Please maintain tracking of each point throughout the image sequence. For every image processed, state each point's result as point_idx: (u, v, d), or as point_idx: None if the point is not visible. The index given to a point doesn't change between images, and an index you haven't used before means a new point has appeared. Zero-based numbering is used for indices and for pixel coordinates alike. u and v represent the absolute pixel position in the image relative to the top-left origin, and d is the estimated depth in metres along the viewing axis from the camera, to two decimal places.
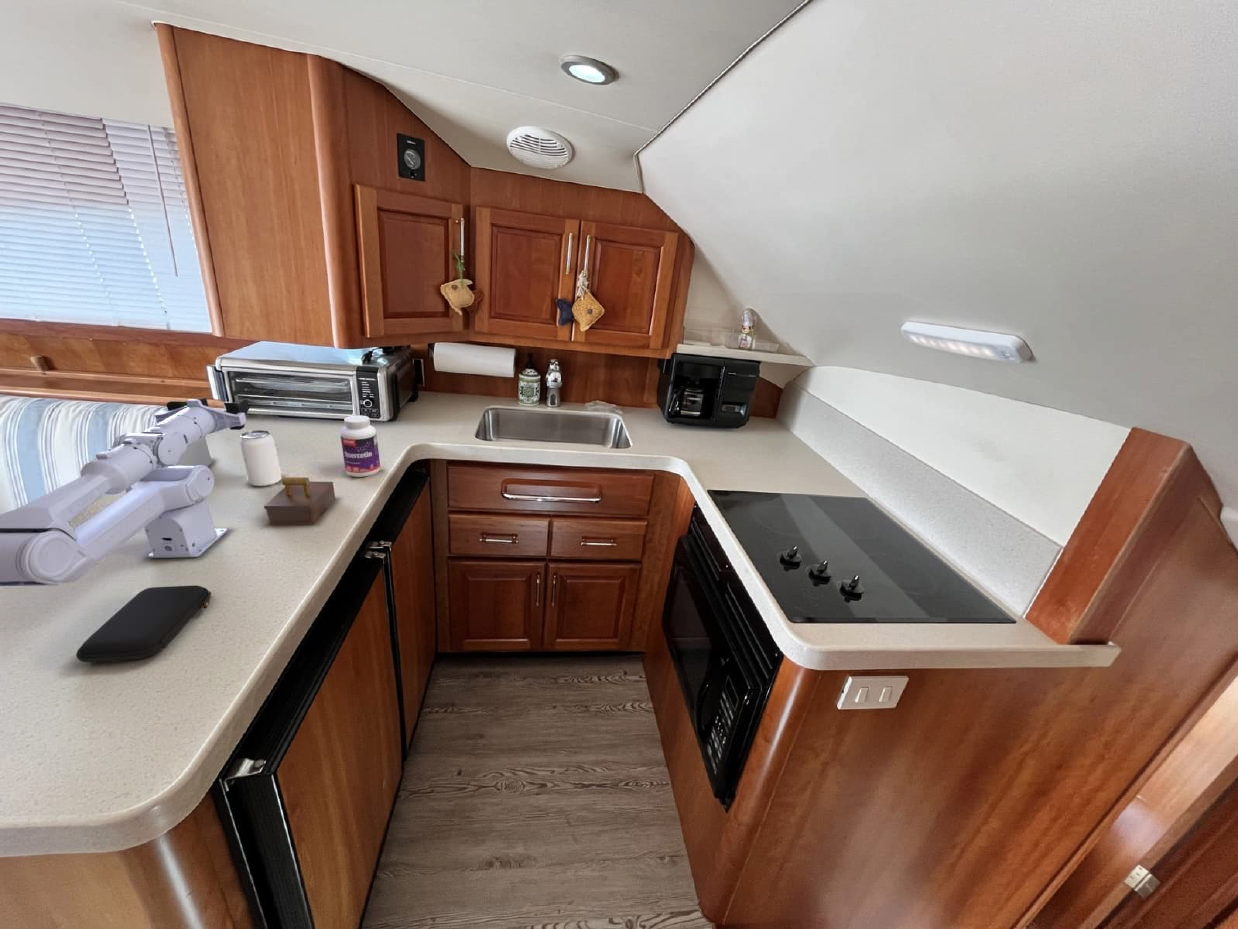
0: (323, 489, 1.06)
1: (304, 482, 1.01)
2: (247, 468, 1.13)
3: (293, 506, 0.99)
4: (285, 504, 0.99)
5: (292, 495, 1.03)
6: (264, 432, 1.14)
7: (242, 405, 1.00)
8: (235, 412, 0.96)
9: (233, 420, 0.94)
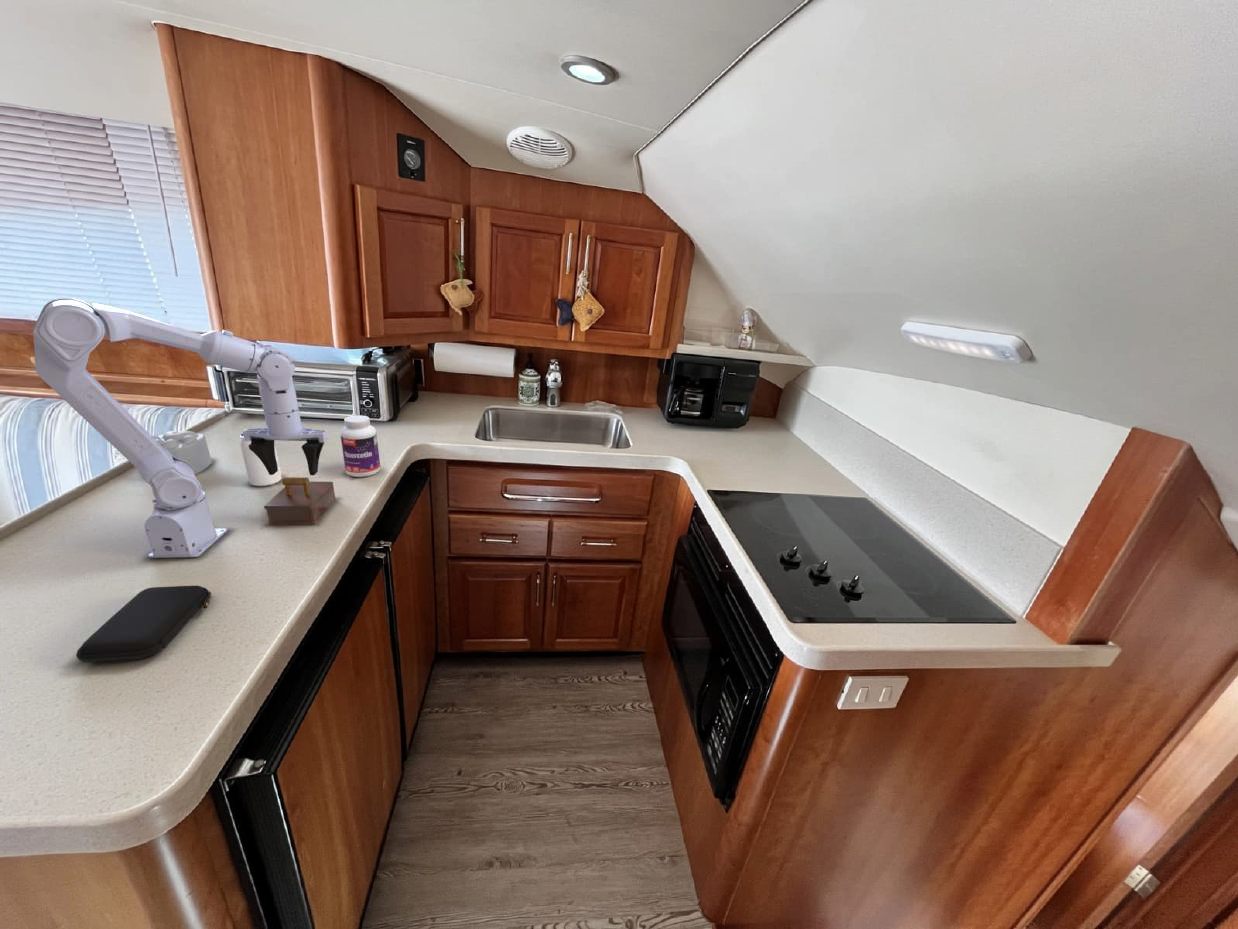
0: (323, 489, 1.06)
1: (304, 482, 1.01)
2: (247, 468, 1.13)
3: (293, 506, 0.99)
4: (285, 504, 0.99)
5: (292, 495, 1.03)
6: None
7: (315, 462, 1.01)
8: None
9: None
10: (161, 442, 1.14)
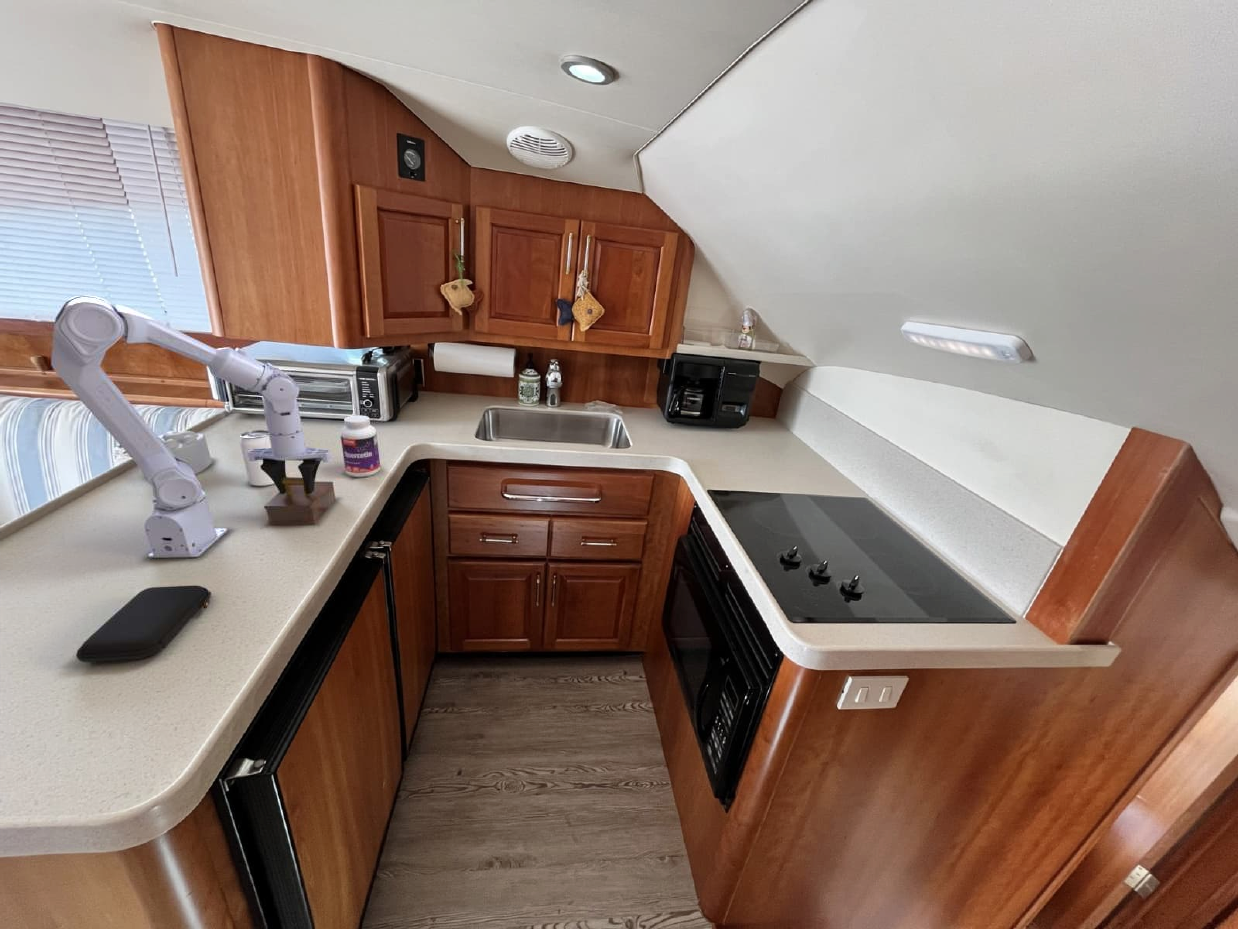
0: (323, 489, 1.06)
1: None
2: (247, 468, 1.13)
3: (293, 506, 0.99)
4: (285, 504, 0.99)
5: (292, 495, 1.03)
6: (264, 432, 1.14)
7: (312, 480, 1.03)
8: None
9: None
10: None
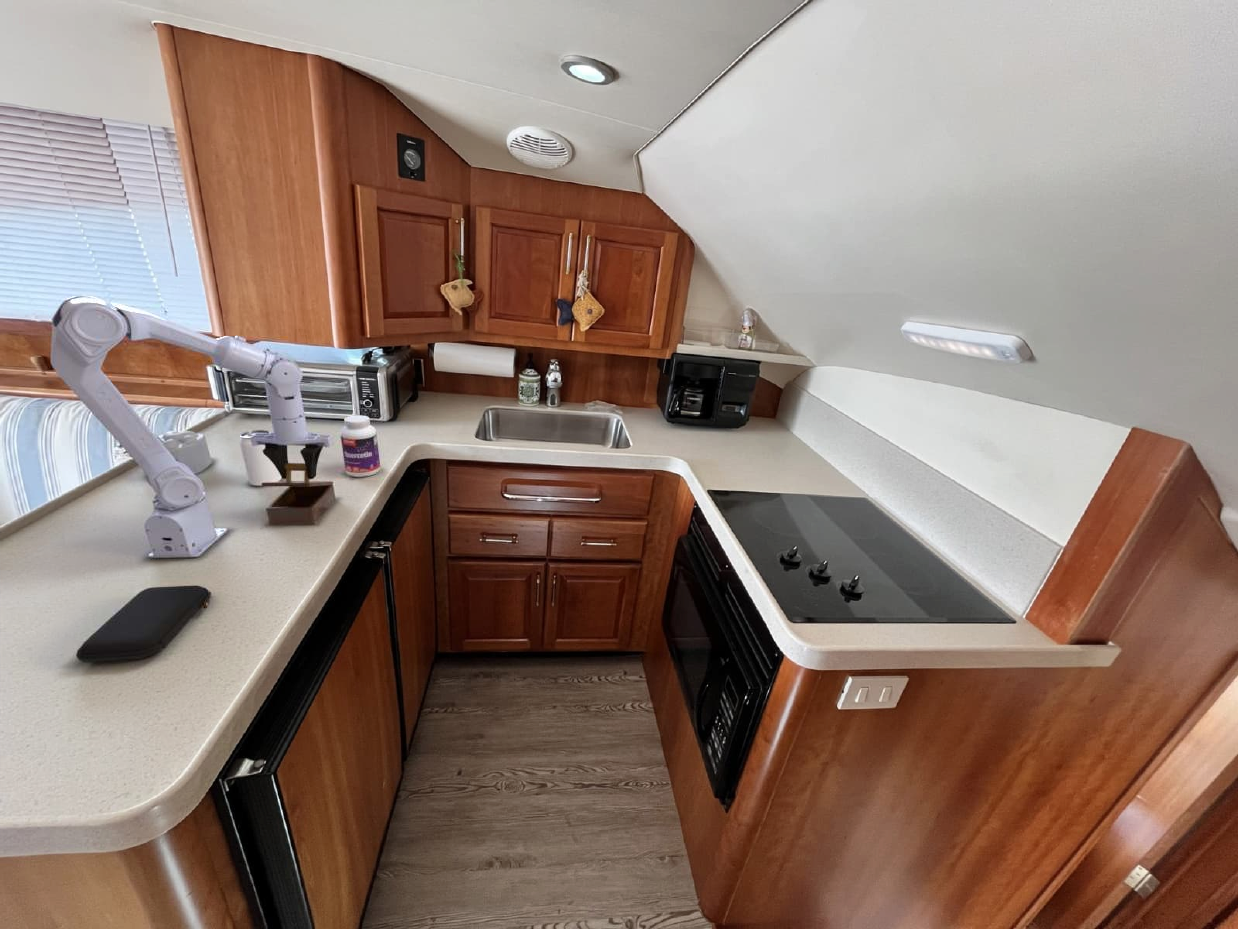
0: (323, 481, 1.06)
1: None
2: (247, 468, 1.13)
3: (291, 483, 0.98)
4: (283, 482, 0.98)
5: (291, 482, 1.02)
6: (264, 432, 1.14)
7: (314, 466, 1.03)
8: None
9: None
10: (161, 442, 1.14)
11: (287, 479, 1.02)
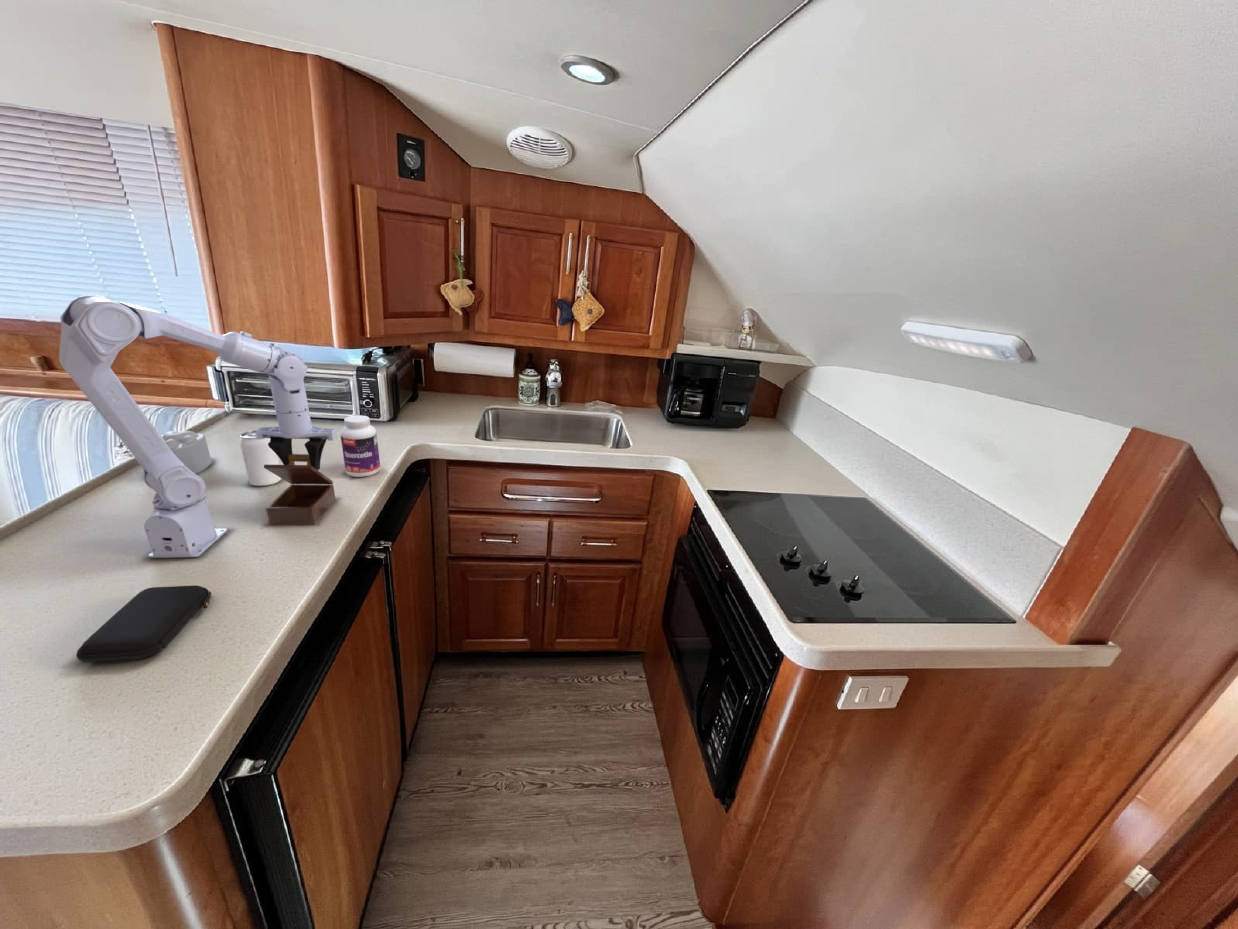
0: None
1: None
2: (247, 468, 1.13)
3: (293, 465, 0.99)
4: None
5: None
6: None
7: (318, 459, 1.05)
8: None
9: None
10: None
11: None
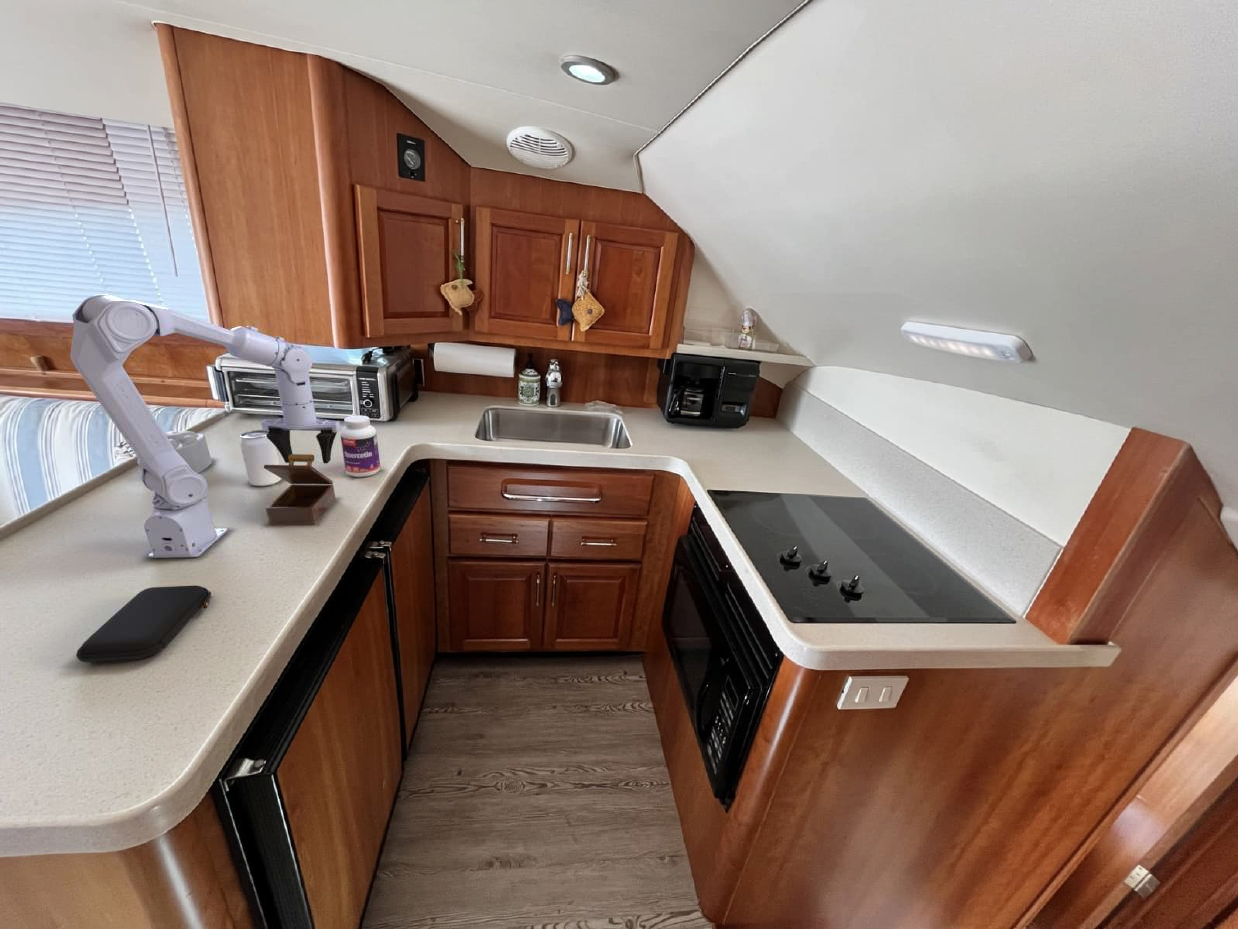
0: None
1: (310, 456, 1.04)
2: (247, 468, 1.13)
3: (293, 465, 0.99)
4: None
5: None
6: (264, 432, 1.14)
7: (328, 451, 1.07)
8: None
9: None
10: None
11: None
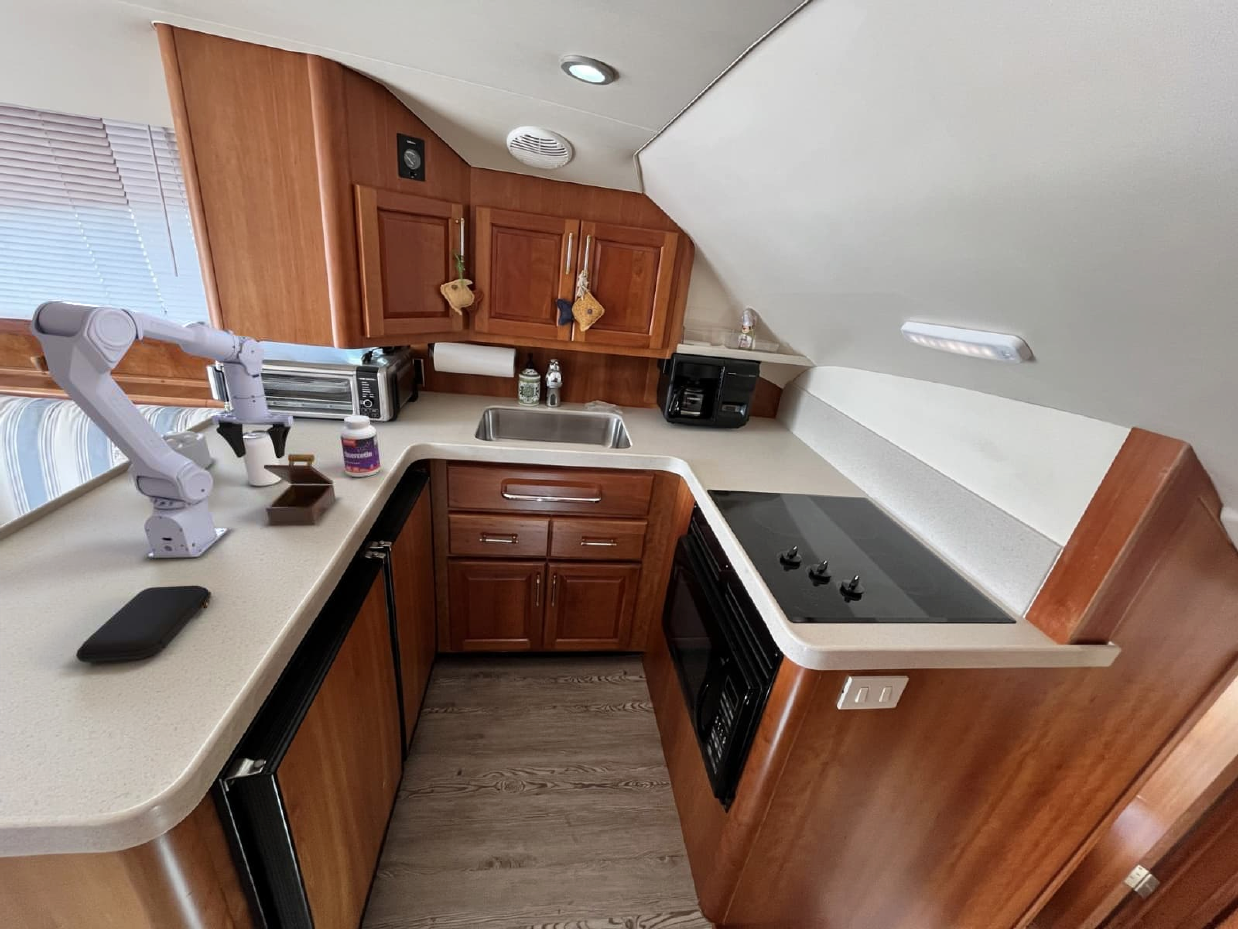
0: None
1: (310, 456, 1.04)
2: (247, 468, 1.13)
3: (293, 465, 0.99)
4: None
5: None
6: (264, 432, 1.14)
7: (282, 445, 1.06)
8: None
9: None
10: None
11: None
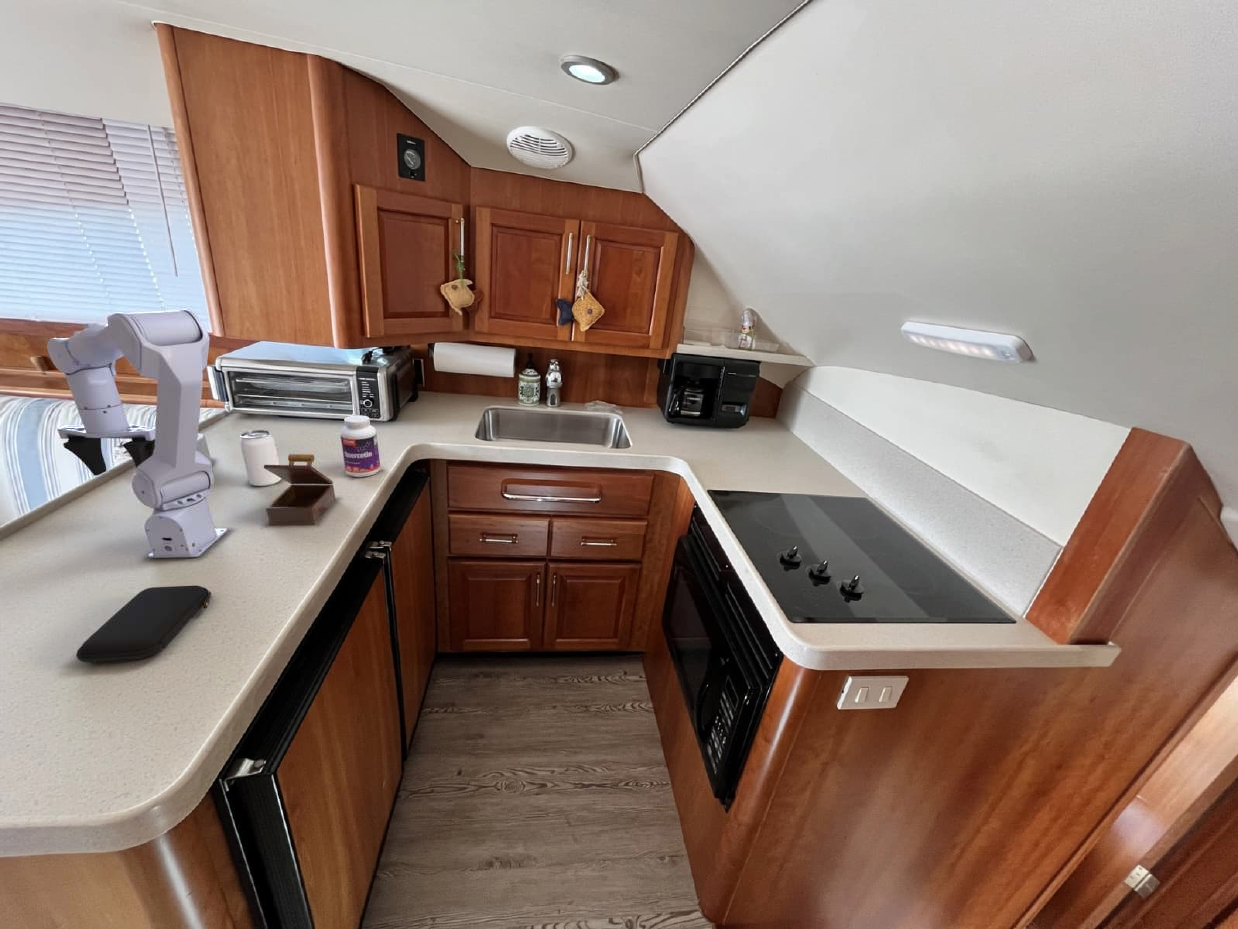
0: None
1: (310, 456, 1.04)
2: (247, 468, 1.13)
3: (293, 465, 0.99)
4: None
5: None
6: (264, 432, 1.14)
7: None
8: None
9: None
10: None
11: None
